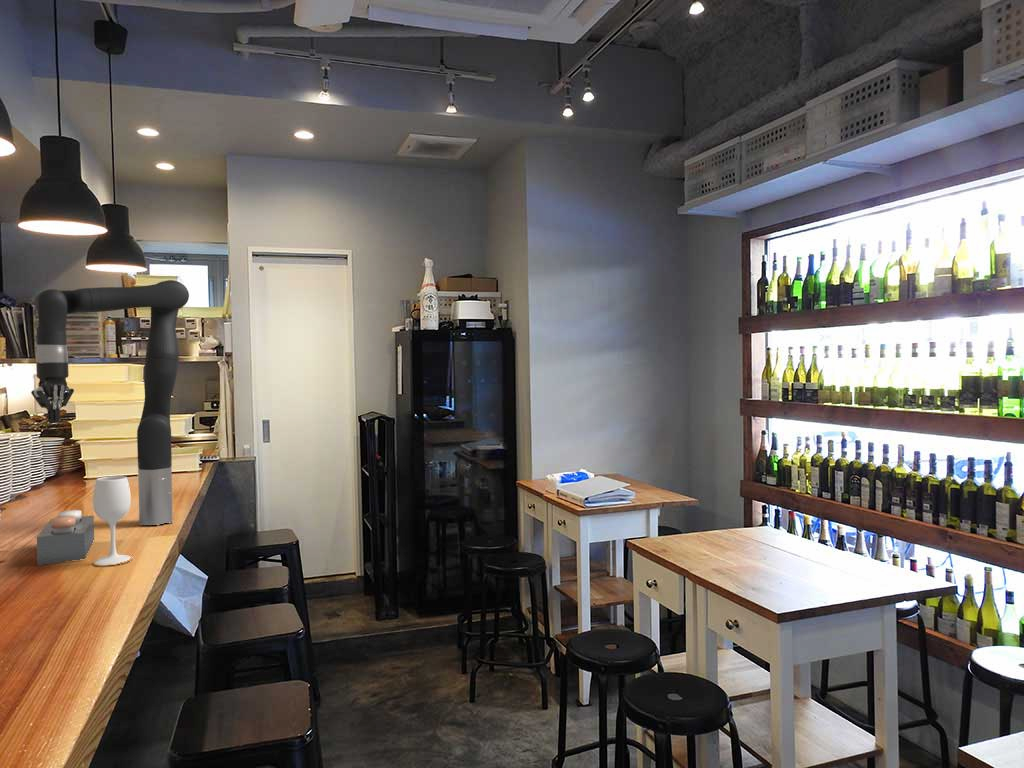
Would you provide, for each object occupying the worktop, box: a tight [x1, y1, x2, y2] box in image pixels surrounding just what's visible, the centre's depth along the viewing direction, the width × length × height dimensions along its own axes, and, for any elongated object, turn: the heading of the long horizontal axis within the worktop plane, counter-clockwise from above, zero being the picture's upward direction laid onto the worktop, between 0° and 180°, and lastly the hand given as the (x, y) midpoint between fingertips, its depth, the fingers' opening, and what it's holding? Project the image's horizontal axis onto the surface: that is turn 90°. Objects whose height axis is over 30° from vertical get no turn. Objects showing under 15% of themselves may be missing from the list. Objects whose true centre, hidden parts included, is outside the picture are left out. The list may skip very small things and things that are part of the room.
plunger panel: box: [36, 515, 95, 566], centre depth 184 cm, size 10×22×7 cm, turn 26°
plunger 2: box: [50, 516, 76, 534], centre depth 178 cm, size 5×5×7 cm
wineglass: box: [92, 475, 132, 565], centre depth 175 cm, size 9×9×21 cm
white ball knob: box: [58, 509, 83, 522], centre depth 189 cm, size 5×5×7 cm
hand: (54, 422), depth 198 cm, fingers closed
